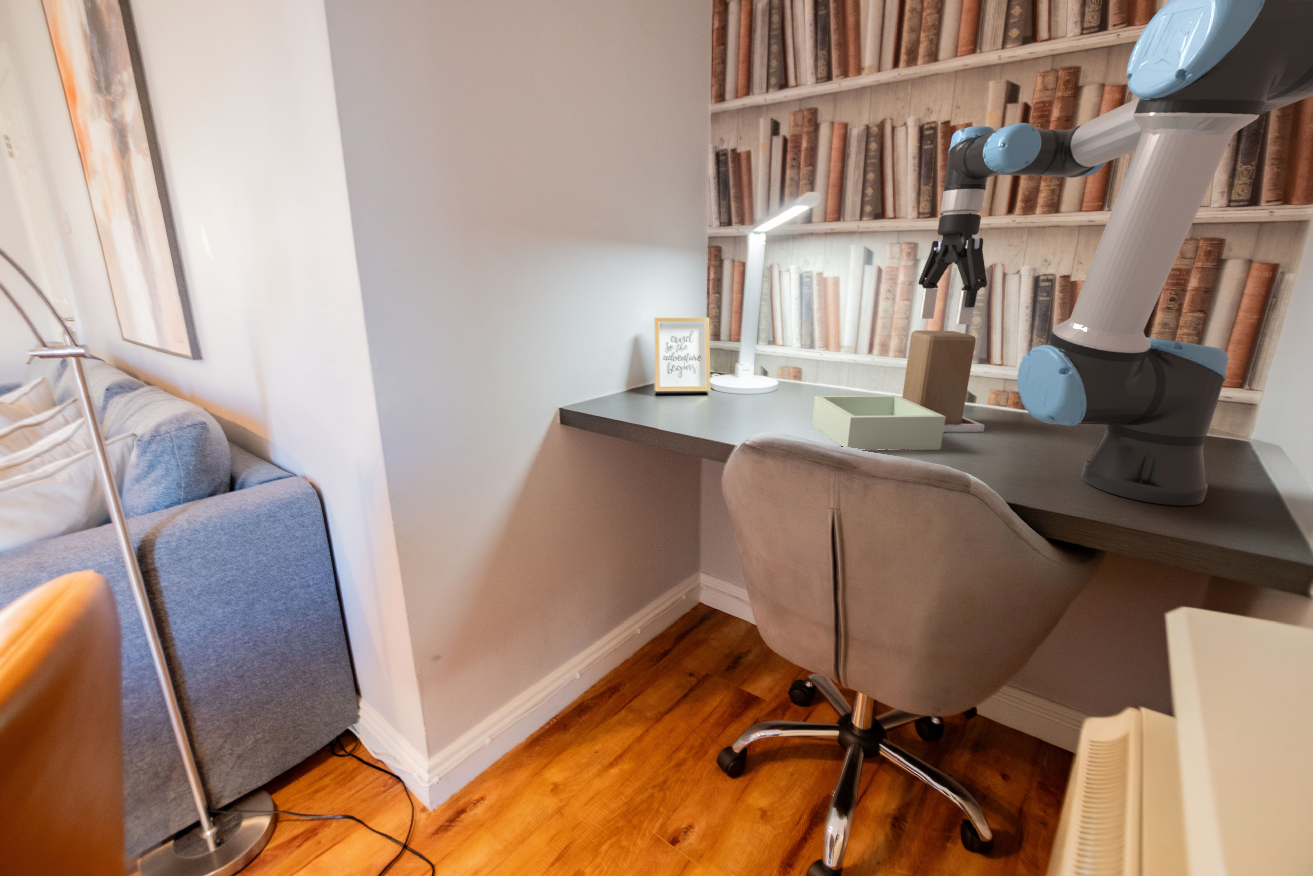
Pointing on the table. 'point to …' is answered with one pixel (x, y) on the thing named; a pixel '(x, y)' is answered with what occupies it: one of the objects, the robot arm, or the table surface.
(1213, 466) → the table surface
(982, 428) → the socket frame
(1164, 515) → the table surface
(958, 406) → the block
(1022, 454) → the table surface
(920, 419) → the bin
